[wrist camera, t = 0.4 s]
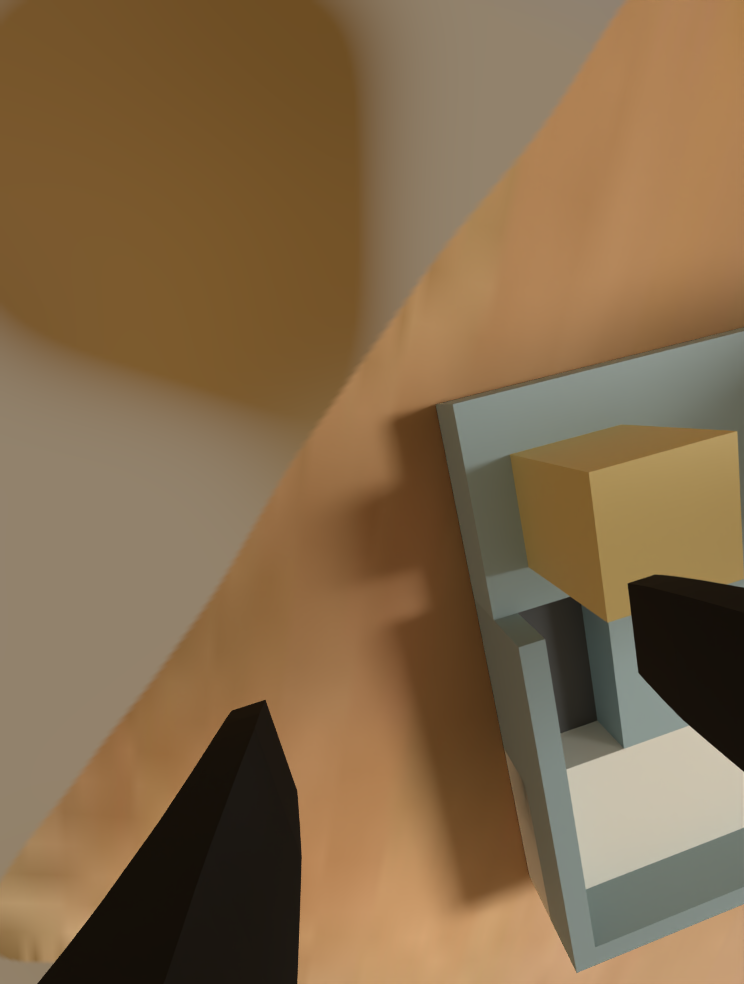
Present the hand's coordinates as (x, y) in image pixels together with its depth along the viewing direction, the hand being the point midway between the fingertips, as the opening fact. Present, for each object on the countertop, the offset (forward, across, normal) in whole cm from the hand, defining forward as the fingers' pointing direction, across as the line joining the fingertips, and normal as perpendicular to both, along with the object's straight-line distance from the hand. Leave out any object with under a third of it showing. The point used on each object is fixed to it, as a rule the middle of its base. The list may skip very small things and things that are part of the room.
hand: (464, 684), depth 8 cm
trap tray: (+10, -12, +8) cm, 17 cm away
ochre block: (+8, -8, 0) cm, 11 cm away
